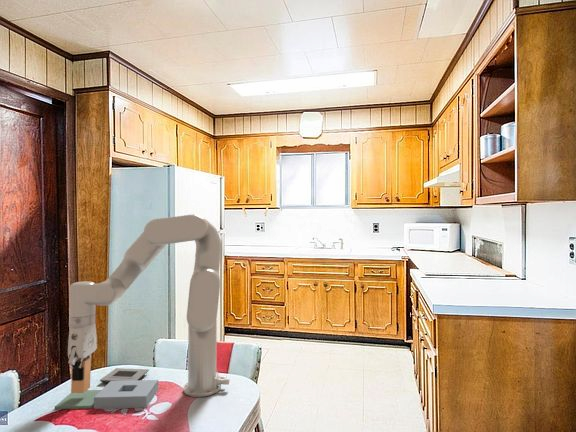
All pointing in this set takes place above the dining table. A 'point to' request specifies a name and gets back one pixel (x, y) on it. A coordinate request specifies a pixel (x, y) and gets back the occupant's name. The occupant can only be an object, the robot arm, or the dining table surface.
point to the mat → (78, 400)
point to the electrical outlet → (124, 375)
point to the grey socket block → (126, 394)
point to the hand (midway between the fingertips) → (81, 376)
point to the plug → (85, 383)
